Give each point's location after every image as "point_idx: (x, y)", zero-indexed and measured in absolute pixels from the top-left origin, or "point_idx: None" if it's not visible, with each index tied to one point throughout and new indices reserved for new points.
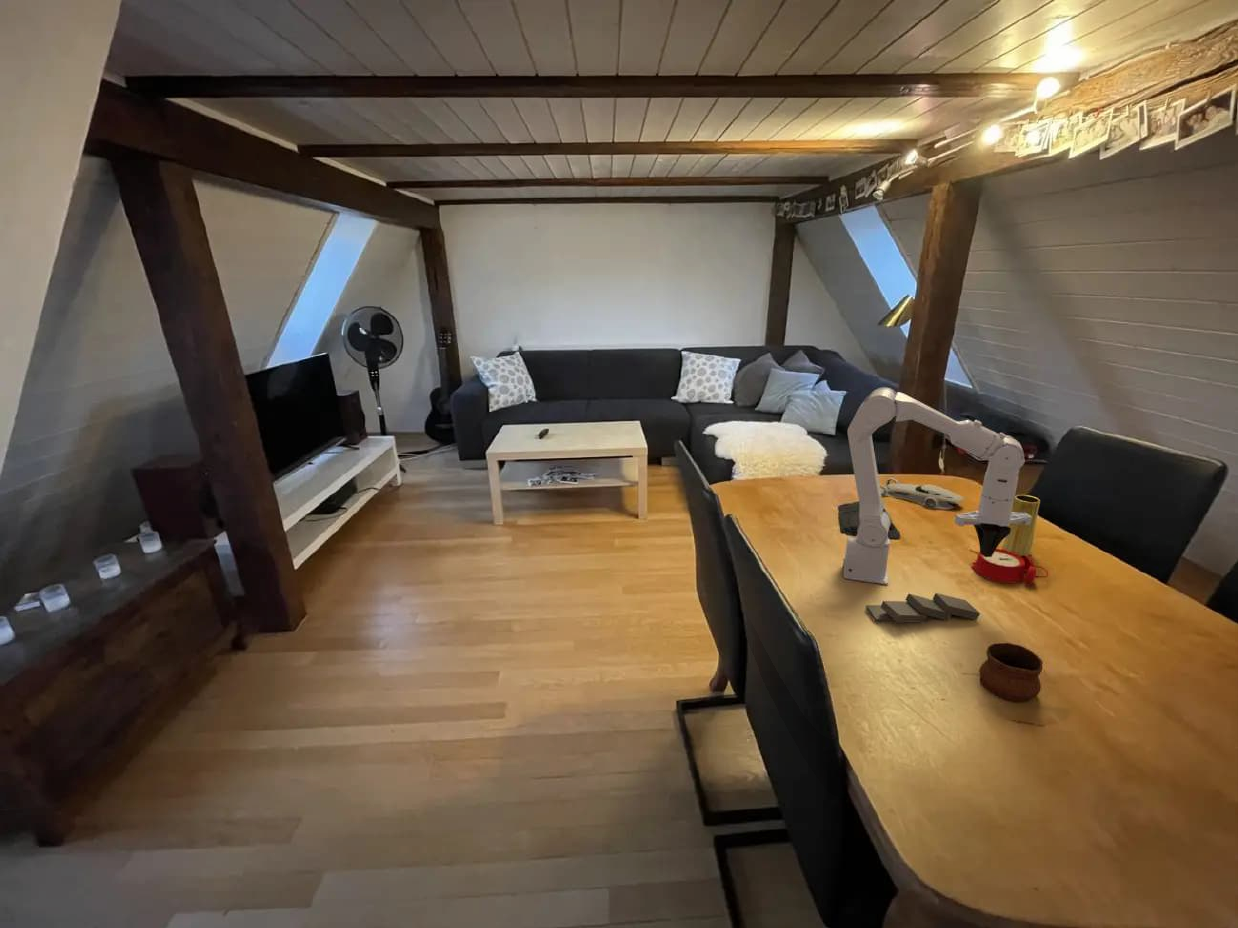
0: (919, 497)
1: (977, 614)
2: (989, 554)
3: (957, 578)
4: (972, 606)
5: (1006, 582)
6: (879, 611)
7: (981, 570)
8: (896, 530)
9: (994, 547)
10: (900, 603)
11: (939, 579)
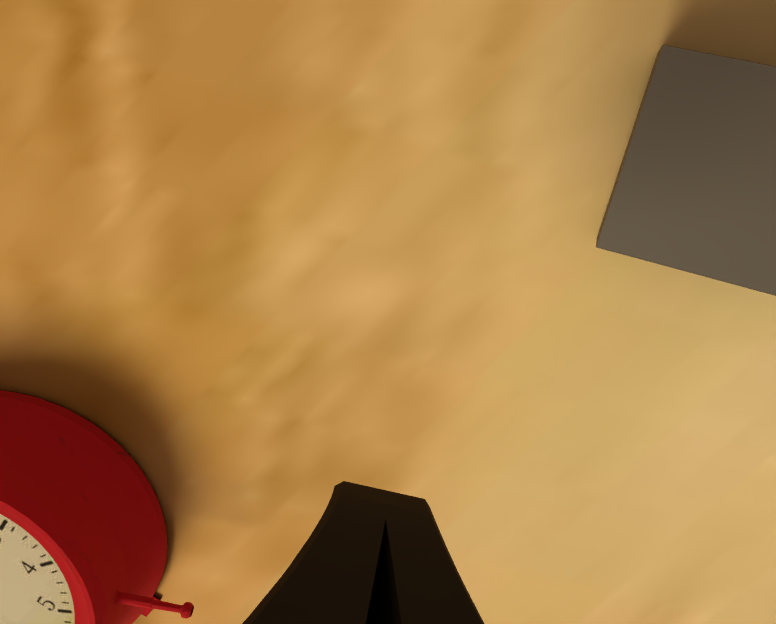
0: None
1: (679, 48)
2: (387, 509)
3: None
4: (627, 154)
5: (60, 406)
6: None
7: (146, 548)
8: None
9: (337, 580)
10: None
11: (465, 547)
